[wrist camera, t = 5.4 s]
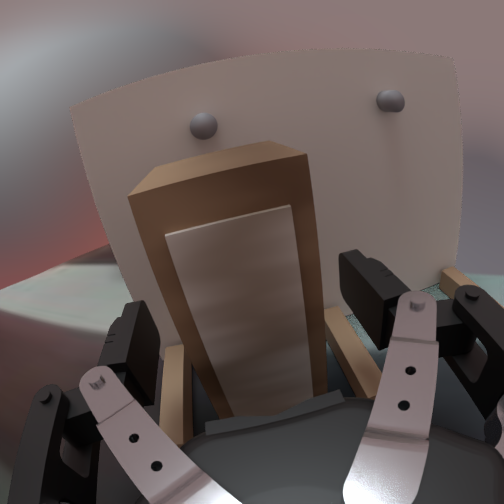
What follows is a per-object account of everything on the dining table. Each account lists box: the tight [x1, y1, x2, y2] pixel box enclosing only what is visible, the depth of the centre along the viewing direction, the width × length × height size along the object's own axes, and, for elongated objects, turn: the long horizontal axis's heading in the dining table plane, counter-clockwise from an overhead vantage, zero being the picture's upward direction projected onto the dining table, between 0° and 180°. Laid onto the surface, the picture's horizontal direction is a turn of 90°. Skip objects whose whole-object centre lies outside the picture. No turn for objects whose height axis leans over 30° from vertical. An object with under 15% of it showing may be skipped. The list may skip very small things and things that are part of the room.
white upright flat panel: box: [70, 49, 504, 448], centre depth 13 cm, size 22×9×16 cm, turn 99°
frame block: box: [127, 140, 328, 419], centre depth 12 cm, size 4×5×12 cm
